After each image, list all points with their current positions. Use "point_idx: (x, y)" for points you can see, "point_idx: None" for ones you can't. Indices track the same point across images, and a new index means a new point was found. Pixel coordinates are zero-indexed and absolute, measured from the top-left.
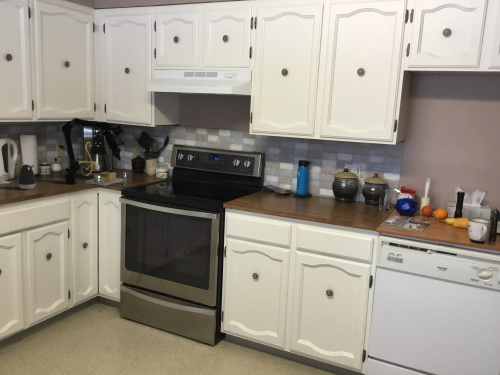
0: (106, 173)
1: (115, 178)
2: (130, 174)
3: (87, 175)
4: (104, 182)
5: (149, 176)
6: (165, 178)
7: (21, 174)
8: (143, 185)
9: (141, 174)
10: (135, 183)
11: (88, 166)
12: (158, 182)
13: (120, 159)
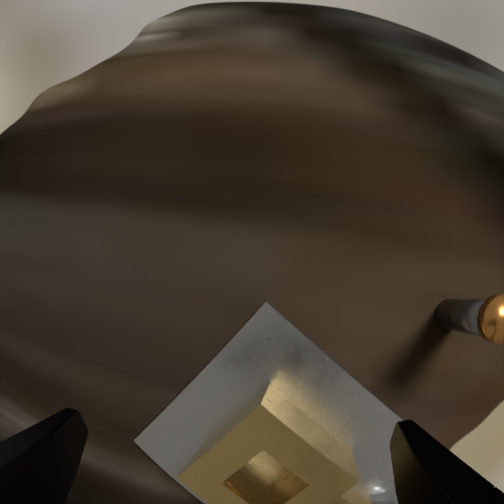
0: (307, 499)
1: (274, 390)
2: (10, 212)
3: None
4: None
5: (95, 92)
6: (190, 10)
7: None
8: (487, 167)
9: (26, 144)
10: (410, 212)
11: None
12: (352, 46)
13: (428, 437)
